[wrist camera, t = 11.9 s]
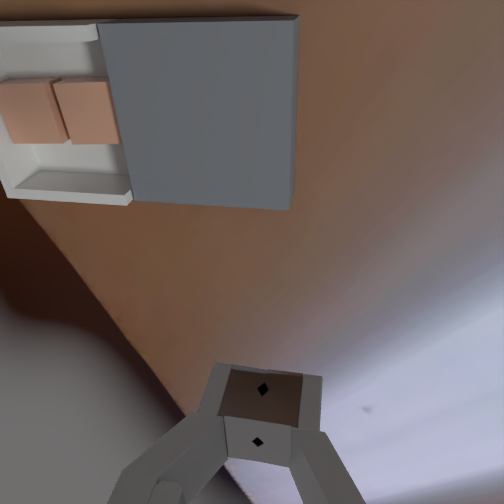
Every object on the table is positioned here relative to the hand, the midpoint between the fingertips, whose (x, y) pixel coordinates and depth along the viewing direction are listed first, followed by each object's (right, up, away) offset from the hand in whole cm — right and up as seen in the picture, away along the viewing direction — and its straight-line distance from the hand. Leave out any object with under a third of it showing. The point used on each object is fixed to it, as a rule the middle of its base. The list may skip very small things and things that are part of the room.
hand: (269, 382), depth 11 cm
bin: (-17, +17, +26) cm, 35 cm away
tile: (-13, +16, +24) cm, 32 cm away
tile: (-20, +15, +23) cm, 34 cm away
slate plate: (-4, +16, +24) cm, 29 cm away
